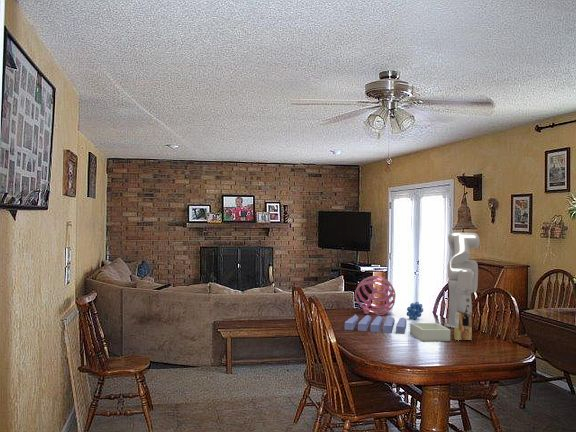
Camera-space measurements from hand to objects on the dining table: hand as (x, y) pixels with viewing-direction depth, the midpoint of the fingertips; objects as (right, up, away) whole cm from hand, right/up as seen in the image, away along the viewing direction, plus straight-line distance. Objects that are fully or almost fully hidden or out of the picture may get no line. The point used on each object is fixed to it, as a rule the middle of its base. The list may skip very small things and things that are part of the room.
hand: (463, 324), depth 314 cm
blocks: (-43, -9, +34) cm, 55 cm away
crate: (-18, -8, +4) cm, 20 cm away
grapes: (-13, -9, +64) cm, 66 cm away
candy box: (0, -9, 0) cm, 9 cm away
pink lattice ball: (-36, -9, +82) cm, 90 cm away
